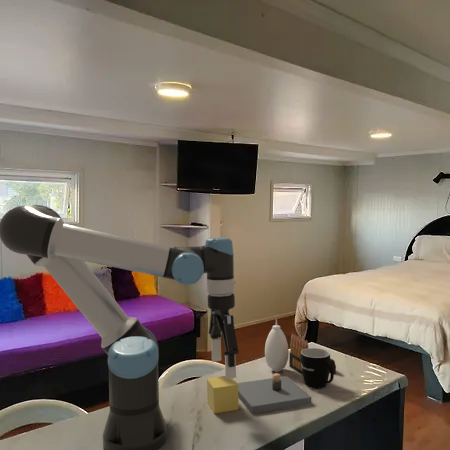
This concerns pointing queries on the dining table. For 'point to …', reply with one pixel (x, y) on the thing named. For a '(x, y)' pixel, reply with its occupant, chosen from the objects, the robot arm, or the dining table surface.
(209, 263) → the robot arm
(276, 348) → the air blower bulb
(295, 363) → the ammunition clip
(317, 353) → the mug
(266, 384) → the board
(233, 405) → the mustard yellow cube
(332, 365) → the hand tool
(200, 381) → the dining table surface
